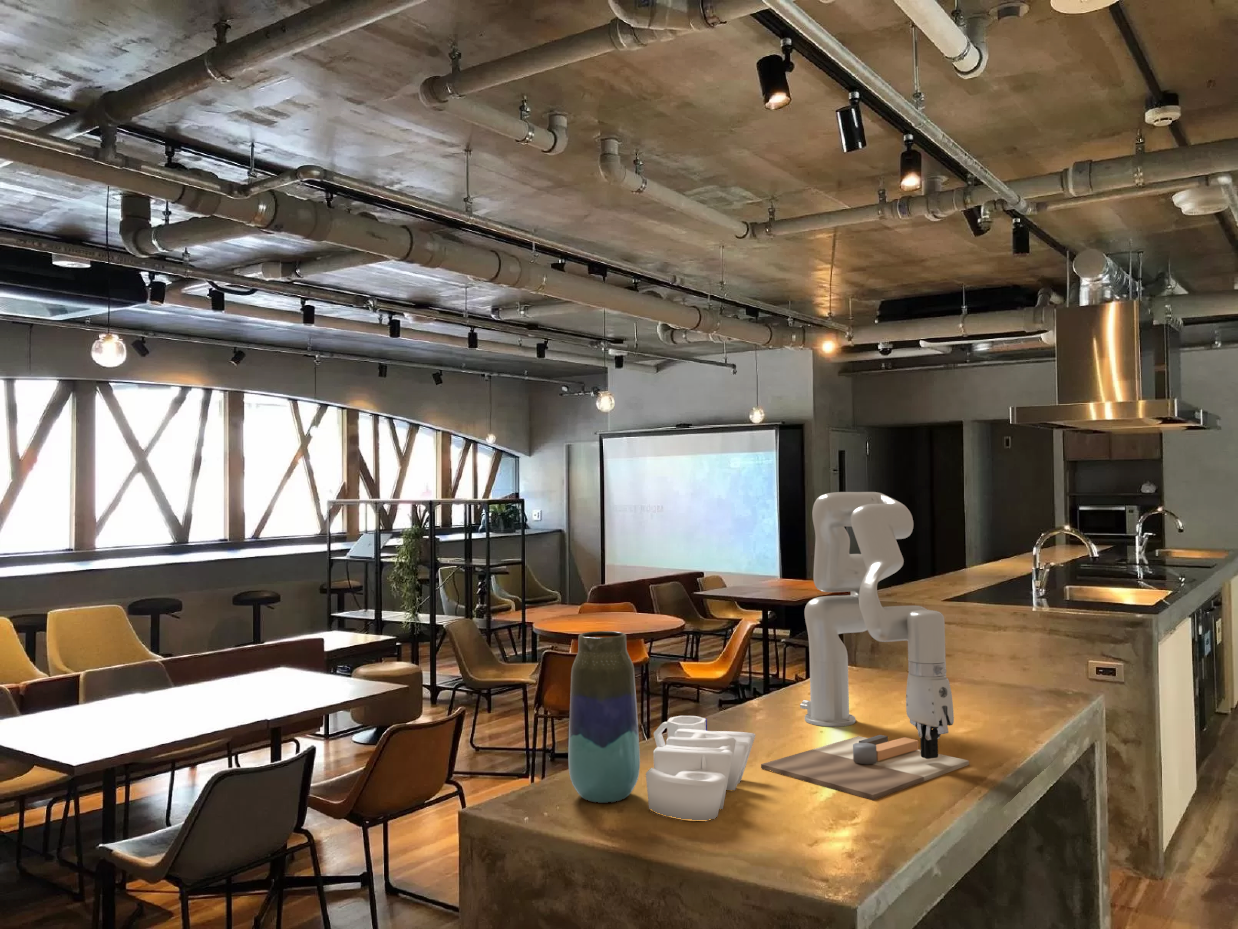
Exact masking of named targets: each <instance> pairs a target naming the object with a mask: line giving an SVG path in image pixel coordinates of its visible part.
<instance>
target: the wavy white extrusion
mask: <svg viewBox="0 0 1238 929" xmlns="http://www.w3.org/2000/svg"><path fill="white" fill-rule="evenodd" d="M755 738H756V734H755V733H754V732H743V731H728V730H727V731H726V730H723V731H722V730H720V731H719V730H718V731H717V730H707V731H705V730H696V729H678V730H677V731H675V737H671V736H670V737H669V738H668V737H667V738H666V740H665V746H663V747H657V746H656V747H655V749H654V750H653V767H650V768H649V770H647V771H646V772H645V778H646V779H645V780H646V790H647V800H648V802H647V803H648V810H649V809H652V810H653V811H655V812H657V813H660V814H663V815H666V816H672V817H676V818H681V819H692V820H709V819H714V820H716V819H717V818H718V816H719V811H720V810H719V809H722V810H723V809H724V804H725V798H726V793H727V791H726V790H734V791H736V790H737V785H738V784H740V783H741V782H742V779H743V775H744V772H745V769H746V766H747V763H748V761H749V757H750V754H751V750H752V747H753V745H754V741H755ZM740 781H741V782H740ZM716 817H717V818H716ZM715 818H716V819H715Z"/></svg>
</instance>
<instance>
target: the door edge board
mask: <svg viewBox="0 0 1238 929" xmlns="http://www.w3.org/2000/svg"><path fill="white" fill-rule="evenodd" d="M885 742H889V738H888V736H887V735H885V734H884V735H882V734H878V735H874V736H872V737H863V736H860V735H858V736H854V737H851V738H847V739H844V740H840V741H836V742H833V743H830V744H829V743H828V744H826V745H823V746H819V747H816V748H813V749H808V750H805V751H801V752H798V753H795V754H792V755H791V754H790V755H788V756H785V757H781V758H778V759H774V760H770V761H767V762H764V763H761V764H760V769H761V768H762V769H761V770H764V769H765V770H764V771H767V770H771V771H773V772H772V773H774V772H776V773H775V774H778V773H781V774H780V775H782V774H783V775H782V776H785V775H786V777H789V776H791V777H790V778H792V777H794V778H793V779H797V780H800V781H803V780H804V781H803V782H805V783H807V782H808V783H811V784H814V785H817V786H821V787H824V788H825V787H826V788H827V789H831V790H835V791H838V792H842V793H846V794H849V795H854V796H856V797H861V798H863V799H868V800H872V801H875V800H878V799H880V798H882V797H886V796H888V795H891V794H893V793H897V792H900V791H902V790H905V789H908V788H910V787H913V786H916V785H917V784H921V783H924V782H926V781H929V780H931V779H934V778H937V777H940V776H943V775H945V774H947V773H950V772H953V771H956V770H959V769H962V768H963V767H967V766H969V765H970V760H968V759H964V758H960V757H959V758H958V757H954V756H950V755H946V754H942V753H938V757H937V758H931V759H926V758H923V757H921V749H919V750H915V751H912V752H908V753H905V754H901V755H898V756H894V757H890V758H887V759H883V760H880V761H877V762H876V763H874V764H860V763H856V762H854V761H853V744H855V743H871V744H874V745H877V744H881V743H885ZM771 771H770V772H771ZM909 786H910V787H909Z"/></svg>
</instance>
